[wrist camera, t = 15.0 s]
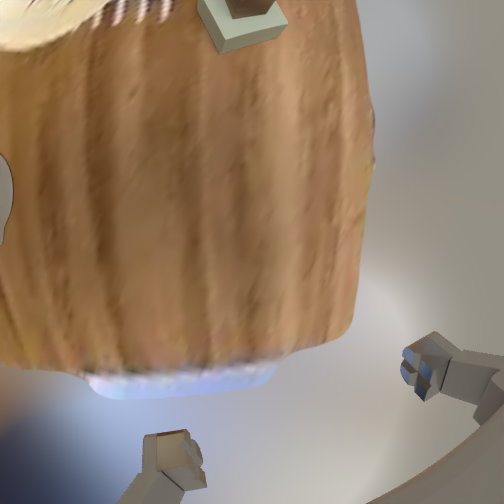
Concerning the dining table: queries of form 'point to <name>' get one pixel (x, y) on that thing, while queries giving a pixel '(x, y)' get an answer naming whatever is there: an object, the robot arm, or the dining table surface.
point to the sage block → (239, 25)
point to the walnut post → (248, 7)
